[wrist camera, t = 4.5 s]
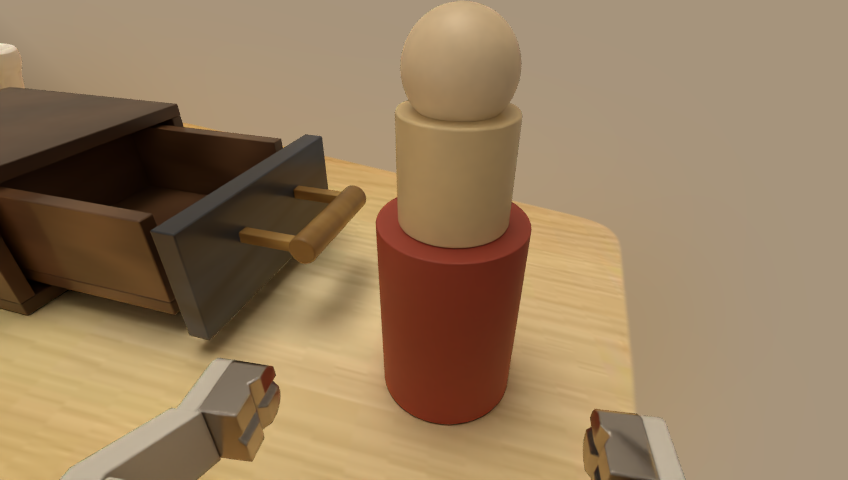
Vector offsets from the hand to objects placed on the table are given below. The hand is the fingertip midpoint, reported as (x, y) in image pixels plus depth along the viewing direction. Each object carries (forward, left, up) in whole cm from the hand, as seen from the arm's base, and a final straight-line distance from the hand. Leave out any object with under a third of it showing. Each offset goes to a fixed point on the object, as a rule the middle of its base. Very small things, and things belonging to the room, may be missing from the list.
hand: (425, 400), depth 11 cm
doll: (-4, -6, -6) cm, 9 cm away
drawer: (+6, -19, -6) cm, 21 cm away
